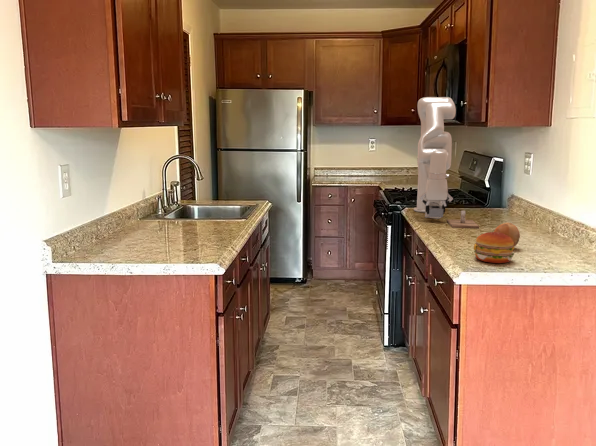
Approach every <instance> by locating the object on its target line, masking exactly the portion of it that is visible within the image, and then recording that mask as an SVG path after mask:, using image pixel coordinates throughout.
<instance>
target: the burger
mask: <svg viewBox="0 0 596 446" xmlns="http://www.w3.org/2000/svg"><path fill="white" fill-rule="evenodd" d="M513 245H514V242H513V240H512V239H511V238H510V237H509V236H507V235H505V234H503V233H499V232H494V231H491V232H484V233H481V234H480V235H478V236H477V237H476V239H475V244H473V250H474V252H473V253H474V255H475V258H476V259H477V260H479V261H482V262H483V263H484V262H485V263H491V264H505V263H510V262H511V261H512V259H513V257H514V255H515V253H514V251H515V246H513Z"/></svg>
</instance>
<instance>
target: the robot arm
mask: <svg viewBox="0 0 596 446" xmlns="http://www.w3.org/2000/svg"><path fill="white" fill-rule="evenodd" d="M456 111H457V110H456V104H455V102H454V101H453V99H452V98H451V97H449V96H440V97H439V96H438V97H437V96H426V97H422V98H420V99H419V100H418V101H417V114H418V117H419V119H420V138H419V140H418V143H417V157H416V162H417V171H418V172H417V174H418V175H417V176H418V177H417V196H416V207H414V208H413V211H414V212H418V213H425V209H426V212H427V214H429V203H430V201H442V203H443V205H442V208H443V216H444V214H445V213H446V207H447V205H448V204H450V203H451V202H452V201H453V200H454V197H452V196H451V195H450V194H449V192H448V191H449V190H448V179H447V178H449V177H450V174H447V170H449V169H450V168H451V166H452V147H453V146H452V144H453V143H452V141H453V140H452V135H451V133H450V132H448V131H444V130H445V124H444V123H445V122H444V120H453V119H454V118H455V117H456ZM426 199H427V201H426Z"/></svg>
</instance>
